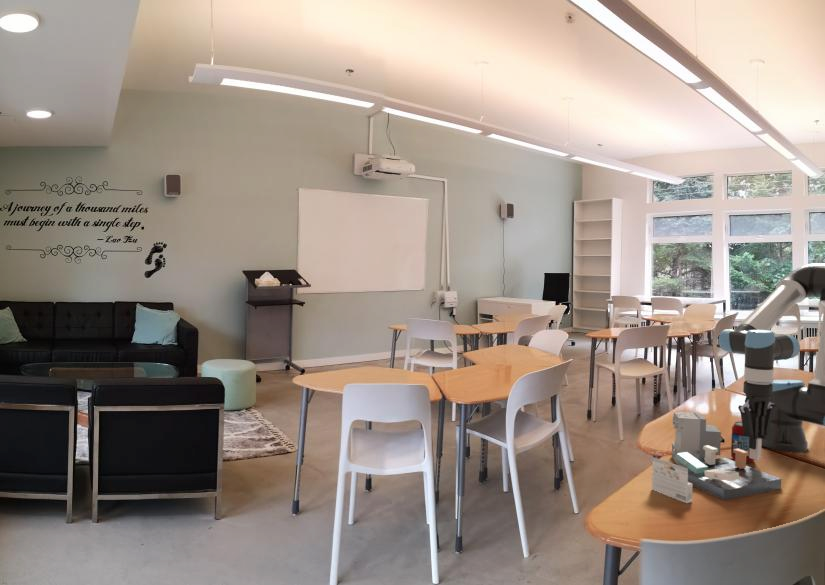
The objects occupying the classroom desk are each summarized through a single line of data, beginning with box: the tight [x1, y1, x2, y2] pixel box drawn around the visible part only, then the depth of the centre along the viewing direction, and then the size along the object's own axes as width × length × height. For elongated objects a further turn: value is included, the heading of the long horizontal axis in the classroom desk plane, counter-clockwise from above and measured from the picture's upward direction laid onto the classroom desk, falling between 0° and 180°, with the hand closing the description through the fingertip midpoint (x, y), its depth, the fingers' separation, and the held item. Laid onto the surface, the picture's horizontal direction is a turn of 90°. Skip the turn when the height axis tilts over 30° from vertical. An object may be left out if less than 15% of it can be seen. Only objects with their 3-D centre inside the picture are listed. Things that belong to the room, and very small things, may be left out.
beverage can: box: [730, 421, 755, 464], centre depth 191 cm, size 7×7×12 cm
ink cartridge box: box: [651, 456, 693, 504], centre depth 162 cm, size 2×11×10 cm, turn 32°
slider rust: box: [733, 449, 749, 469], centre depth 175 cm, size 2×4×5 cm, turn 21°
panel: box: [669, 457, 782, 501], centre depth 172 cm, size 22×20×3 cm
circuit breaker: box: [671, 411, 726, 465], centre depth 189 cm, size 8×14×15 cm, turn 78°
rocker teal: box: [676, 452, 708, 474], centre depth 174 cm, size 5×8×2 cm, turn 21°
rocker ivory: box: [704, 469, 740, 481], centre depth 164 cm, size 5×8×2 cm, turn 21°
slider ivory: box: [703, 445, 718, 465], centre depth 178 cm, size 2×4×5 cm, turn 21°
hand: (755, 458), depth 177 cm, fingers closed
